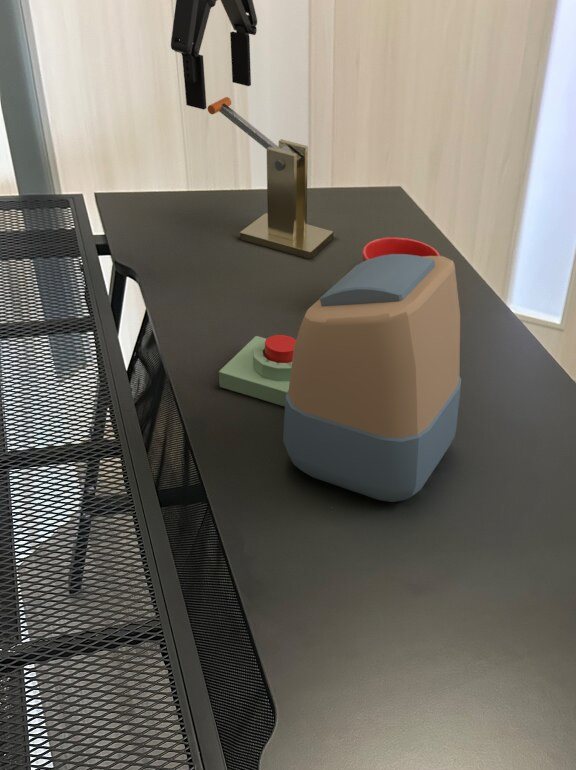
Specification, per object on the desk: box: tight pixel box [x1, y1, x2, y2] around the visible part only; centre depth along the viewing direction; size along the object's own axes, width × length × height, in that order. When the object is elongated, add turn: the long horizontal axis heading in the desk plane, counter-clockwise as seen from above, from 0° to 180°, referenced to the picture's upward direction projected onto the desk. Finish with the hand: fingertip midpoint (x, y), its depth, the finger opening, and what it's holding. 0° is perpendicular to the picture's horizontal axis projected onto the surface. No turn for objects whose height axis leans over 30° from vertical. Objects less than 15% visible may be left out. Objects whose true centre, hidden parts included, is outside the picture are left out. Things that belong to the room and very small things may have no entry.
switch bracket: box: [239, 138, 334, 260], centre depth 132 cm, size 12×9×14 cm
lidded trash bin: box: [282, 254, 462, 503], centre depth 91 cm, size 17×17×23 cm
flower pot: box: [361, 236, 441, 262], centre depth 120 cm, size 11×11×10 cm
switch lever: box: [207, 96, 301, 166], centre depth 127 cm, size 14×5×2 cm, turn 73°
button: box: [265, 334, 296, 363], centre depth 105 cm, size 4×4×2 cm
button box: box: [218, 335, 292, 408], centre depth 107 cm, size 12×10×4 cm
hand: (219, 95), depth 125 cm, fingers open, 13 cm apart
